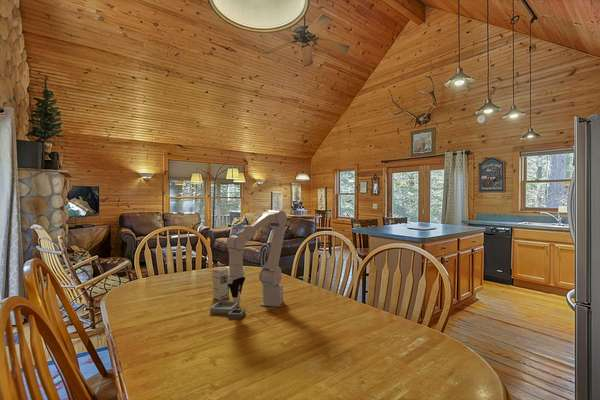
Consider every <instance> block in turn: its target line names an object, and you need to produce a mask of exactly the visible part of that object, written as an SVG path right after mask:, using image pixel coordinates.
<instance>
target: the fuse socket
mask: <svg viewBox="0 0 600 400" xmlns="http://www.w3.org/2000/svg"><path fill="white" fill-rule="evenodd" d="M245 315H246V309H245V308H244V309H243V308H238V309H232V310H231V311H230V312H229V313H228V315H227V319H233V320H242V318H243V317H244V316H245Z"/></svg>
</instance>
